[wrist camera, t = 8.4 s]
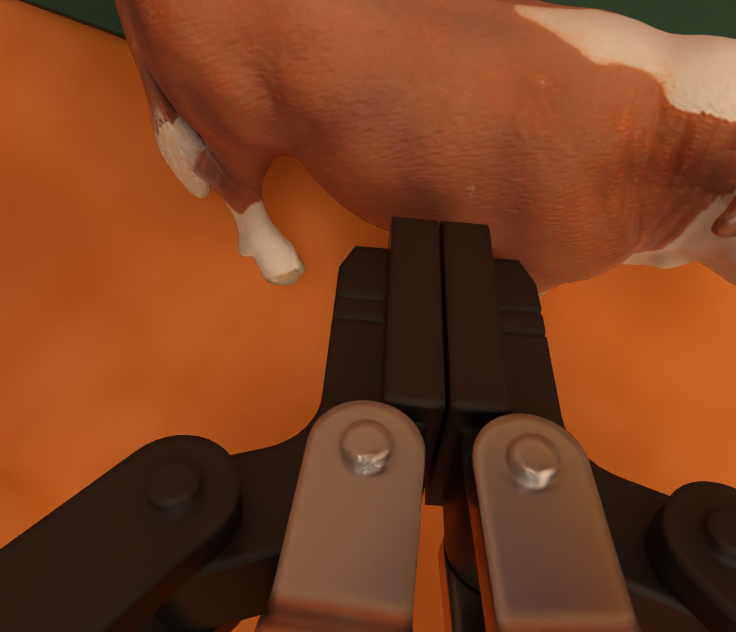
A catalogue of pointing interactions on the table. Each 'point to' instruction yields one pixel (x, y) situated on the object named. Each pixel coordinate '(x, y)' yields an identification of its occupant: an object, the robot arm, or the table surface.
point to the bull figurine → (454, 123)
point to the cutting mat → (643, 3)
